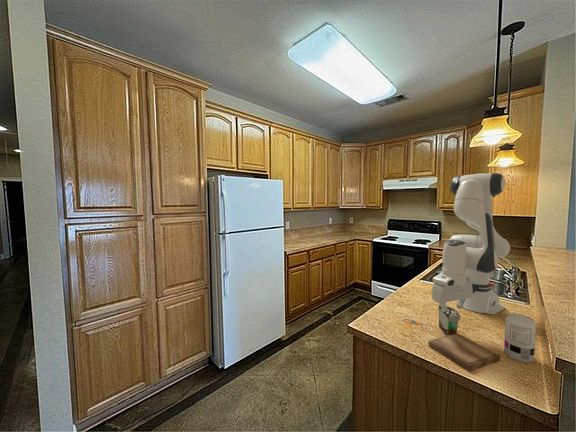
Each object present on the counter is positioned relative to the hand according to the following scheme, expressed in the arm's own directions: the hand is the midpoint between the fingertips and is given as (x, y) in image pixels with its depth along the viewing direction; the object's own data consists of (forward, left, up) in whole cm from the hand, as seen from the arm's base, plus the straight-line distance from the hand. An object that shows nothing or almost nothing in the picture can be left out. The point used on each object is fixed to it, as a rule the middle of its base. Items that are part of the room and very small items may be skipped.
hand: (452, 309), depth 107 cm
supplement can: (-9, +20, -11) cm, 24 cm away
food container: (-1, -1, -11) cm, 11 cm away
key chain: (+7, -11, -11) cm, 18 cm away
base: (+8, +11, -11) cm, 18 cm away
